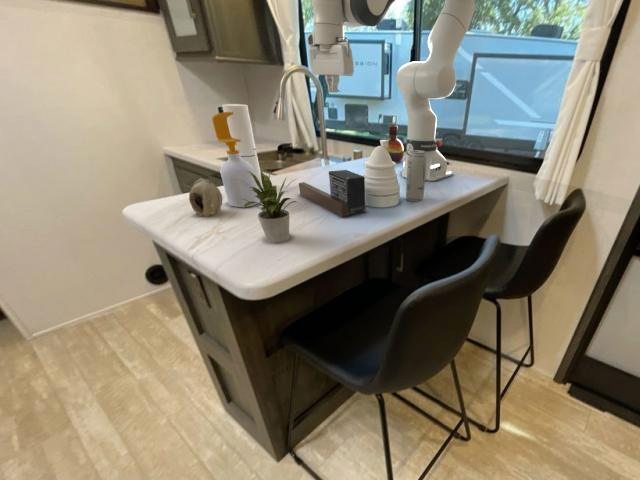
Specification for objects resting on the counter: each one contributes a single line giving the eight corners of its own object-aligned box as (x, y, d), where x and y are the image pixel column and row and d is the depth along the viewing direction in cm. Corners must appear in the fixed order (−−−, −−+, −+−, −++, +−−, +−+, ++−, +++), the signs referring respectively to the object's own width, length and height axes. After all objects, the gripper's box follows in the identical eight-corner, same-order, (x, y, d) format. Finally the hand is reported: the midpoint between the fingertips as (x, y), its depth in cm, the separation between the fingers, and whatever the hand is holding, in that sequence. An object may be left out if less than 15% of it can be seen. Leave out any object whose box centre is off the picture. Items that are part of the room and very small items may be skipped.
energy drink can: (422, 202, 107) (425, 153, 99) (404, 200, 108) (406, 152, 100) (424, 197, 112) (428, 150, 104) (407, 195, 113) (409, 149, 105)
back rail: (305, 194, 110) (304, 182, 108) (348, 216, 94) (347, 202, 92) (300, 195, 109) (298, 183, 107) (342, 217, 93) (341, 203, 91)
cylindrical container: (266, 185, 117) (251, 104, 103) (257, 191, 111) (240, 106, 97) (247, 184, 117) (229, 103, 103) (237, 189, 111) (217, 105, 97)
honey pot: (377, 192, 114) (376, 136, 104) (407, 200, 109) (410, 141, 98) (352, 201, 106) (349, 140, 95) (383, 210, 100) (384, 146, 90)
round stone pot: (201, 218, 95) (185, 183, 91) (231, 211, 96) (217, 176, 93) (192, 220, 86) (175, 181, 83) (226, 212, 88) (210, 173, 84)
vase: (405, 159, 163) (407, 125, 155) (401, 164, 154) (402, 127, 146) (384, 157, 165) (384, 123, 156) (378, 162, 156) (378, 126, 147)
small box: (366, 212, 98) (366, 176, 92) (348, 216, 94) (346, 179, 88) (348, 202, 104) (346, 168, 98) (330, 206, 101) (327, 171, 95)
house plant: (229, 240, 78) (209, 168, 69) (275, 223, 88) (263, 158, 78) (269, 255, 72) (253, 180, 63) (314, 235, 82) (306, 167, 73)
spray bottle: (241, 209, 95) (218, 114, 81) (222, 203, 99) (197, 111, 85) (266, 202, 102) (249, 112, 88) (247, 196, 105) (228, 109, 91)
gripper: (357, 37, 93) (359, 94, 101) (321, 40, 106) (325, 90, 114) (339, 35, 90) (342, 94, 98) (304, 38, 102) (309, 90, 110)
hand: (333, 92), depth 106 cm, fingers closed
